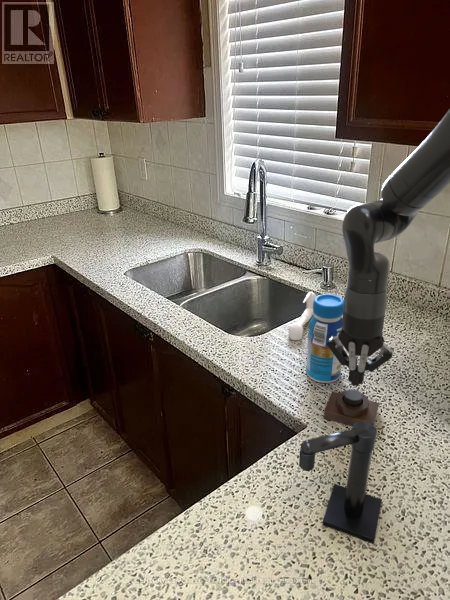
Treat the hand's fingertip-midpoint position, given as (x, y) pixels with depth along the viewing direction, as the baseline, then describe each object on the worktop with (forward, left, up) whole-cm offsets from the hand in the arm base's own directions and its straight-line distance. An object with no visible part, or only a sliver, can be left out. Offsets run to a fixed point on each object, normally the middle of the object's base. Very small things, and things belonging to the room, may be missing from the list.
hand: (355, 383), depth 91 cm
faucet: (+20, -33, -9) cm, 40 cm away
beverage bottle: (+9, -12, -8) cm, 17 cm away
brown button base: (0, 0, -8) cm, 8 cm away
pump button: (0, 0, -5) cm, 5 cm away
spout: (-2, +27, +6) cm, 27 cm away
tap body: (-5, +24, -8) cm, 26 cm away
